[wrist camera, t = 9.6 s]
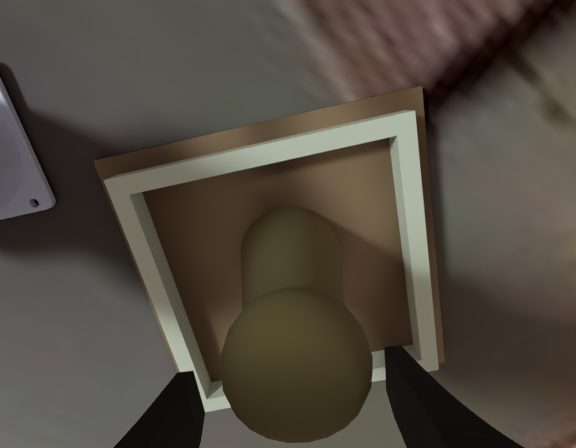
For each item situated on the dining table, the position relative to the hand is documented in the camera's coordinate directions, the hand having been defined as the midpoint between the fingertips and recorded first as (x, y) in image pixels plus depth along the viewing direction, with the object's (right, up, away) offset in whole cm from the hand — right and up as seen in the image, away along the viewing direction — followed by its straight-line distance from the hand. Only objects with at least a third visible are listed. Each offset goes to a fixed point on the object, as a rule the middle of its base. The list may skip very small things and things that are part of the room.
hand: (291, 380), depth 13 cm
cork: (0, +4, +8) cm, 9 cm away
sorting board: (0, +3, +9) cm, 9 cm away
